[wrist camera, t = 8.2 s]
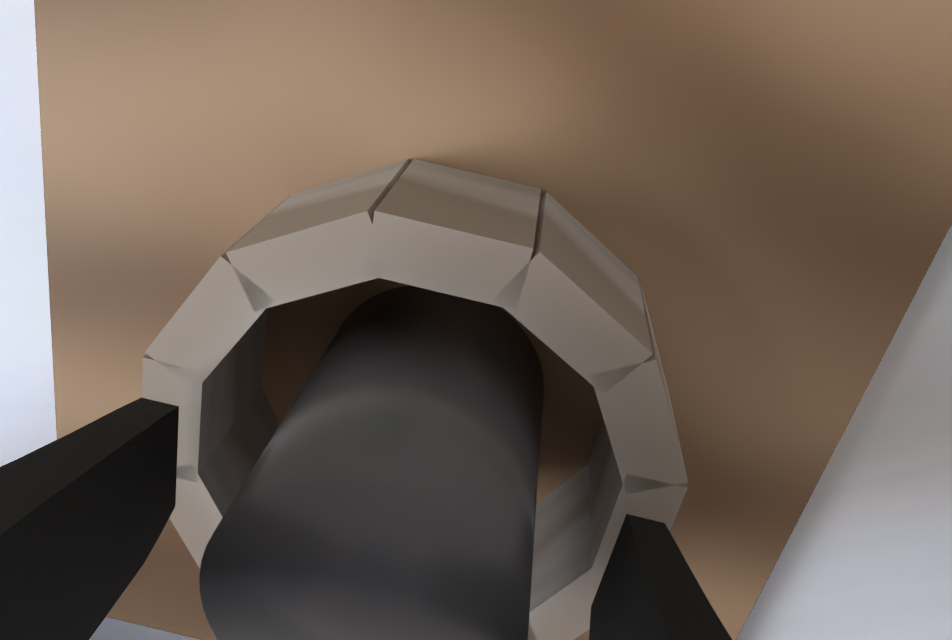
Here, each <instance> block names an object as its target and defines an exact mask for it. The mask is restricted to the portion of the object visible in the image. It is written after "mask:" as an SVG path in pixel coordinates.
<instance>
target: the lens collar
mask: <svg viewBox="0 0 952 640" xmlns="http://www.w3.org/2000/svg"><path fill="white" fill-rule="evenodd" d="M34 7H35V27H36V46H37V65H38V84H39V103H40V122H41V142H42V161H43V180H44V199H45V218H46V238H47V257H48V276H49V295H50V314H51V333H52V353H53V372H54V391H55V410H56V429H57V440H58V439H60V438H62V437H64V436H66V435H68V434H70V433H72V432H74V431H76V430H78V429H79V428H81V427H83V426H85V425H87V424H89V423H91V422H93V421H95V420H97V419H99V418H101V417H103V416H105V415H107V414H109V413H111V412H113V411H115V410H117V409H119V408H121V407H123V406H125V405H127V404H129V403H131V402H133V401H135V400H137V399H139V398H146V399H150V400H154V401H159V402H163V403H167V404H171V405H175V406H179V421H178V448H177V476H176V504H175V508H174V510H173V512H172V514H171V516H170V518H169V519H168V521H167V523H166V525H165V527H164V529H163V531H162V533H161V534H160V536H159V538H158V540H157V542H156V543H155V545H154V547H153V549H152V550H151V552H150V554H149V556H148V557H147V559H146V561H145V563H144V564H143V565H142V567H141V568H140V570H139V571H138V573H137V574H136V575H135V577H134V578H133V580H132V581H131V582H130V584H129V585H128V587H127V588H126V589H125V591H124V592H123V593H122V595H121V596H120V598H119V599H118V600H117V602H116V603H115V605H114V606H113V607H112V609H111V610H110V611H109V613H108V614H107V616H106V617H110V618H114V619H118V620H122V621H126V622H130V623H134V624H139V625H143V626H147V627H151V628H155V629H159V630H163V631H167V632H171V633H175V634H180V635H184V636H188V637H192V638H196V639H200V640H217V638H216V636H215V634H214V633H213V631H212V629H211V627H210V625H209V623H208V620H207V618H206V615H205V612H204V609H203V606H202V601H201V596H200V584H199V574H200V567H201V560H202V557H203V554H204V551H205V548H206V545H207V544H208V542H209V540H210V538H211V536H212V535H213V533H214V531H215V529H216V528H217V526H218V525H219V523H220V521H221V520H222V518H223V516H224V515H225V513H226V512H227V510H228V508H229V507H230V505H231V503H232V502H233V500H234V499H235V497H236V495H237V494H238V492H239V490H240V489H241V487H242V486H243V484H244V482H245V481H246V479H247V477H248V476H249V474H250V473H251V471H252V469H253V468H254V466H255V464H256V463H257V461H258V460H259V458H260V456H261V455H262V453H263V451H264V450H265V448H266V447H267V445H268V443H269V442H270V440H271V438H272V437H273V435H274V434H275V432H276V430H277V429H278V427H279V425H280V424H281V422H282V421H283V419H284V417H285V416H286V414H287V412H288V411H289V409H290V408H291V406H292V404H293V403H294V401H295V399H296V398H297V396H298V395H299V393H300V391H301V390H302V388H303V387H304V385H305V383H306V382H307V380H308V378H309V377H310V375H311V374H312V372H313V370H314V369H315V367H316V365H317V364H318V362H319V361H320V359H321V357H322V356H323V354H324V352H325V351H326V349H327V348H328V346H329V344H330V343H331V341H332V339H333V338H334V336H335V335H336V333H337V331H338V330H339V328H340V326H341V325H342V324H343V322H344V321H345V320H346V319H347V317H348V316H349V315H350V314H351V313H352V312H353V311H354V310H355V309H356V308H357V307H358V306H360V305H361V304H363V303H364V302H366V301H367V300H368V299H370V298H372V297H374V296H376V295H378V294H380V293H382V292H385V291H388V290H390V289H393V288H397V287H402V286H407V285H411V286H415V287H419V288H424V289H428V290H432V291H436V292H440V293H445V294H449V295H453V296H457V297H461V298H466V299H470V300H474V301H478V302H483V303H487V304H491V305H495V306H498V307H499V308H501V309H502V310H503V311H505V312H506V313H507V314H508V315H509V316H510V317H511V318H512V319H513V320H514V321H515V322H516V323H518V325H519V326H520V327H521V328H522V330H523V331H524V332H525V333H526V335H527V336H528V338H529V340H530V341H531V343H532V345H533V346H534V349H535V351H536V353H537V356H538V358H539V361H540V365H541V369H542V374H543V383H544V387H543V406H542V422H541V438H540V453H539V469H538V485H537V501H536V517H535V533H534V549H533V565H532V581H531V597H530V613H529V628H528V640H589V630H590V614H591V605H592V603H593V600H594V598H595V595H596V592H597V590H598V587H599V584H600V582H601V579H602V577H603V574H604V571H605V569H606V566H607V564H608V561H609V558H610V556H611V553H612V551H613V548H614V545H615V543H616V540H617V537H618V535H619V532H620V530H621V527H622V524H623V522H624V519H625V517H626V514H629V515H633V516H638V517H642V518H646V519H650V520H654V521H658V522H663V523H665V524H666V526H667V528H668V529H669V531H670V533H671V535H672V536H673V538H674V540H675V542H676V544H677V545H678V547H679V549H680V551H681V553H682V554H683V556H684V558H685V560H686V562H687V563H688V565H689V567H690V569H691V571H692V572H693V574H694V576H695V578H696V579H697V581H698V583H699V585H700V587H701V588H702V590H703V592H704V594H705V595H706V597H707V599H708V600H709V602H710V604H711V606H712V607H713V609H714V611H715V612H716V614H717V616H718V617H719V619H720V620H721V622H722V624H723V625H724V627H725V629H726V630H727V632H728V634H729V635H730V637H731V638H732V640H736V639H737V637H738V635H739V633H740V631H741V629H742V627H743V626H744V624H745V622H746V620H747V618H748V616H749V614H750V612H751V610H752V608H753V606H754V604H755V602H756V600H757V598H758V597H759V595H760V593H761V591H762V589H763V587H764V585H765V583H766V581H767V579H768V577H769V575H770V573H771V571H772V569H773V568H774V566H775V564H776V562H777V560H778V558H779V556H780V554H781V552H782V550H783V548H784V546H785V544H786V542H787V541H788V539H789V537H790V535H791V533H792V531H793V529H794V527H795V525H796V523H797V521H798V519H799V517H800V515H801V513H802V512H803V510H804V508H805V506H806V504H807V502H808V500H809V498H810V496H811V494H812V492H813V490H814V488H815V486H816V484H817V483H818V481H819V479H820V477H821V475H822V473H823V471H824V469H825V467H826V465H827V463H828V461H829V459H830V457H831V455H832V454H833V452H834V450H835V448H836V446H837V444H838V442H839V440H840V438H841V436H842V434H843V432H844V430H845V428H846V426H847V425H848V423H849V421H850V419H851V417H852V415H853V413H854V411H855V409H856V407H857V405H858V403H859V401H860V399H861V397H862V396H863V394H864V392H865V390H866V388H867V386H868V384H869V382H870V380H871V378H872V376H873V374H874V372H875V370H876V369H877V367H878V365H879V363H880V361H881V359H882V357H883V355H884V353H885V351H886V349H887V347H888V345H889V343H890V341H891V340H892V338H893V336H894V334H895V332H896V330H897V328H898V326H899V324H900V322H901V320H902V318H903V316H904V314H905V312H906V311H907V309H908V307H909V305H910V303H911V301H912V299H913V297H914V295H915V293H916V291H917V289H918V287H919V285H920V283H921V282H922V280H923V278H924V276H925V274H926V272H927V270H928V268H929V266H930V264H931V262H932V260H933V258H934V256H935V254H936V253H937V251H938V249H939V247H940V245H941V243H942V241H943V239H944V237H945V235H946V233H947V231H948V229H949V227H950V225H951V224H952V0H34Z"/></svg>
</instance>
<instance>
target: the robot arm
mask: <svg viewBox="0 0 952 640" xmlns="http://www.w3.org/2000/svg"><path fill="white" fill-rule="evenodd" d="M178 421H179V406H175V405H171V404H167V403H163V402H159V401H154V400H150V399H146V398H139V399H137V400H135V401H133V402H131V403H129V404H127V405H125V406H123V407H121V408H119V409H117V410H115V411H113V412H111V413H109V414H107V415H105V416H103V417H101V418H99V419H97V420H95V421H93V422H91V423H89V424H87V425H85V426H83V427H81V428H79V429H78V430H76V431H74V432H72V433H70V434H68V435H66V436H64V437H62V438H60V439H58V440H56V441H54V442H52V443H50V444H48V445H46V446H43V447H41V448H39V449H37V450H35V451H33V452H31V453H29V454H27V455H25V456H23V457H21V458H19V459H17V460H15V461H13V462H10V463H8V464H6V465H4V466H2V467H0V640H89V639H90V637H91V636H92V635H93V633H94V632H95V631H96V629H97V628H98V626H99V625H100V624H101V622H102V621H103V620H104V618H105V617H106V616H107V614H108V613H109V611H110V610H111V609H112V607H113V606H114V605H115V603H116V602H117V600H118V599H119V598H120V596H121V595H122V593H123V592H124V591H125V589H126V588H127V587H128V585H129V584H130V582H131V581H132V580H133V578H134V577H135V575H136V574H137V573H138V571H139V570H140V568H141V567H142V565H143V564H144V563H145V561H146V559H147V557H148V556H149V554H150V552H151V550H152V549H153V547H154V545H155V543H156V542H157V540H158V538H159V536H160V534H161V533H162V531H163V529H164V527H165V525H166V523H167V521H168V519H169V518H170V516H171V514H172V512H173V510H174V508H175V504H176V476H177V448H178ZM589 640H732V638H731V637H730V635H729V634H728V632H727V630H726V629H725V627H724V625H723V624H722V622H721V620H720V619H719V617H718V616H717V614H716V612H715V611H714V609H713V607H712V606H711V604H710V602H709V600H708V599H707V597H706V595H705V594H704V592H703V590H702V588H701V587H700V585H699V583H698V581H697V579H696V578H695V576H694V574H693V572H692V571H691V569H690V567H689V565H688V563H687V562H686V560H685V558H684V556H683V554H682V553H681V551H680V549H679V547H678V545H677V544H676V542H675V540H674V538H673V536H672V535H671V533H670V531H669V529H668V528H667V526H666V524H665V523H663V522H658V521H654V520H650V519H646V518H642V517H638V516H633V515H629V514H626V517H625V519H624V522H623V524H622V527H621V530H620V532H619V535H618V537H617V540H616V543H615V545H614V548H613V551H612V553H611V556H610V558H609V561H608V564H607V566H606V569H605V571H604V574H603V577H602V579H601V582H600V584H599V587H598V590H597V592H596V595H595V598H594V600H593V603H592V605H591V614H590V630H589Z"/></svg>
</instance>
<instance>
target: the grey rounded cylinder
mask: <svg viewBox="0 0 952 640" xmlns="http://www.w3.org/2000/svg"><path fill="white" fill-rule="evenodd" d="M543 387H544V383H543V374H542V369H541V365H540V361H539V358H538V356H537V353H536V351H535V349H534V346H533V345H532V343H531V341H530V340H529V338H528V336H527V335H526V333H525V332H524V331H523V330H522V328H521V327H520V326H519V325H518V323H516V322H515V321H514V320H513V319H512V318H511V317H510V316H509V315H508V314H507V313H506V312H505V311H503V310H502V309H501V308H499V307H498V306H495V305H491V304H487V303H483V302H478V301H474V300H470V299H466V298H461V297H457V296H453V295H449V294H445V293H440V292H436V291H432V290H428V289H424V288H419V287H415V286H411V285H407V286H402V287H397V288H393V289H390V290H388V291H385V292H382V293H380V294H378V295H376V296H374V297H372V298H370V299H368V300H367V301H366V302H364V303H363V304H361V305H360V306H358V307H357V308H356V309H355V310H354V311H353V312H352V313H351V314H350V315H349V316H348V317H347V319H346V320H345V321H344V322H343V324H342V325H341V326H340V328H339V330H338V331H337V333H336V335H335V336H334V338H333V339H332V341H331V343H330V344H329V346H328V348H327V349H326V351H325V352H324V354H323V356H322V357H321V359H320V361H319V362H318V364H317V365H316V367H315V369H314V370H313V372H312V374H311V375H310V377H309V378H308V380H307V382H306V383H305V385H304V387H303V388H302V390H301V391H300V393H299V395H298V396H297V398H296V399H295V401H294V403H293V404H292V406H291V408H290V409H289V411H288V412H287V414H286V416H285V417H284V419H283V421H282V422H281V424H280V425H279V427H278V429H277V430H276V432H275V434H274V435H273V437H272V438H271V440H270V442H269V443H268V445H267V447H266V448H265V450H264V451H263V453H262V455H261V456H260V458H259V460H258V461H257V463H256V464H255V466H254V468H253V469H252V471H251V473H250V474H249V476H248V477H247V479H246V481H245V482H244V484H243V486H242V487H241V489H240V490H239V492H238V494H237V495H236V497H235V499H234V500H233V502H232V503H231V505H230V507H229V508H228V510H227V512H226V513H225V515H224V516H223V518H222V520H221V521H220V523H219V525H218V526H217V528H216V529H215V531H214V533H213V535H212V536H211V538H210V540H209V542H208V544H207V545H206V548H205V551H204V554H203V557H202V560H201V567H200V574H199V584H200V596H201V601H202V606H203V609H204V612H205V615H206V618H207V620H208V623H209V625H210V627H211V629H212V631H213V633H214V634H215V636H216V638H217V640H528V628H529V613H530V597H531V581H532V565H533V549H534V533H535V517H536V501H537V485H538V469H539V453H540V438H541V422H542V406H543Z"/></svg>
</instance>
